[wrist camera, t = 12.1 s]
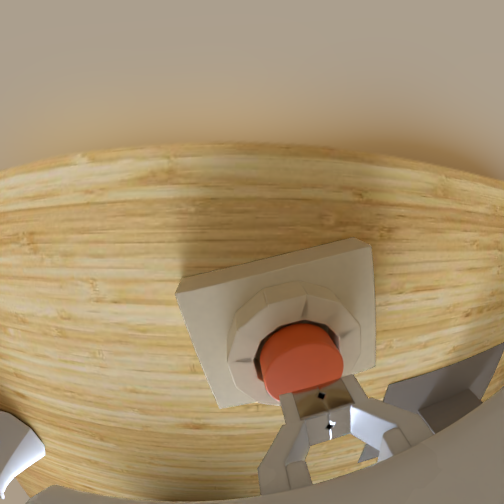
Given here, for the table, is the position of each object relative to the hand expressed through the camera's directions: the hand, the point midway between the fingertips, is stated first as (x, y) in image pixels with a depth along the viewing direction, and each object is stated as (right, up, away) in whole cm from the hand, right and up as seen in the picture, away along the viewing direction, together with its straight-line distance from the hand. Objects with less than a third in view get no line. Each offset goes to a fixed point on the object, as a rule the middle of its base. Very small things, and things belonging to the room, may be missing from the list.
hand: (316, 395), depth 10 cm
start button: (0, +1, +3) cm, 3 cm away
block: (-1, +2, +7) cm, 7 cm away
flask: (-29, -15, +8) cm, 33 cm away
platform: (+17, -10, +11) cm, 23 cm away
